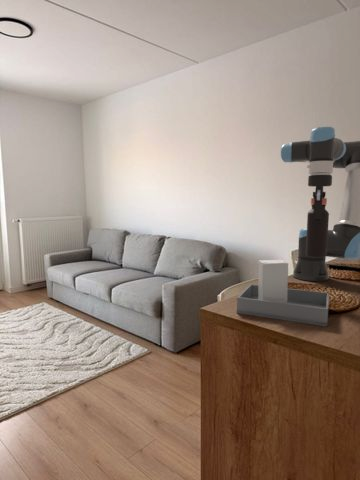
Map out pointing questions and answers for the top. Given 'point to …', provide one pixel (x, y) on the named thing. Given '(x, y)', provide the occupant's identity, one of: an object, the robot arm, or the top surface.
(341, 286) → the top surface
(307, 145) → the robot arm
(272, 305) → the tray
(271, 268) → the skincare box
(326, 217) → the vinegar
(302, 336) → the top surface
